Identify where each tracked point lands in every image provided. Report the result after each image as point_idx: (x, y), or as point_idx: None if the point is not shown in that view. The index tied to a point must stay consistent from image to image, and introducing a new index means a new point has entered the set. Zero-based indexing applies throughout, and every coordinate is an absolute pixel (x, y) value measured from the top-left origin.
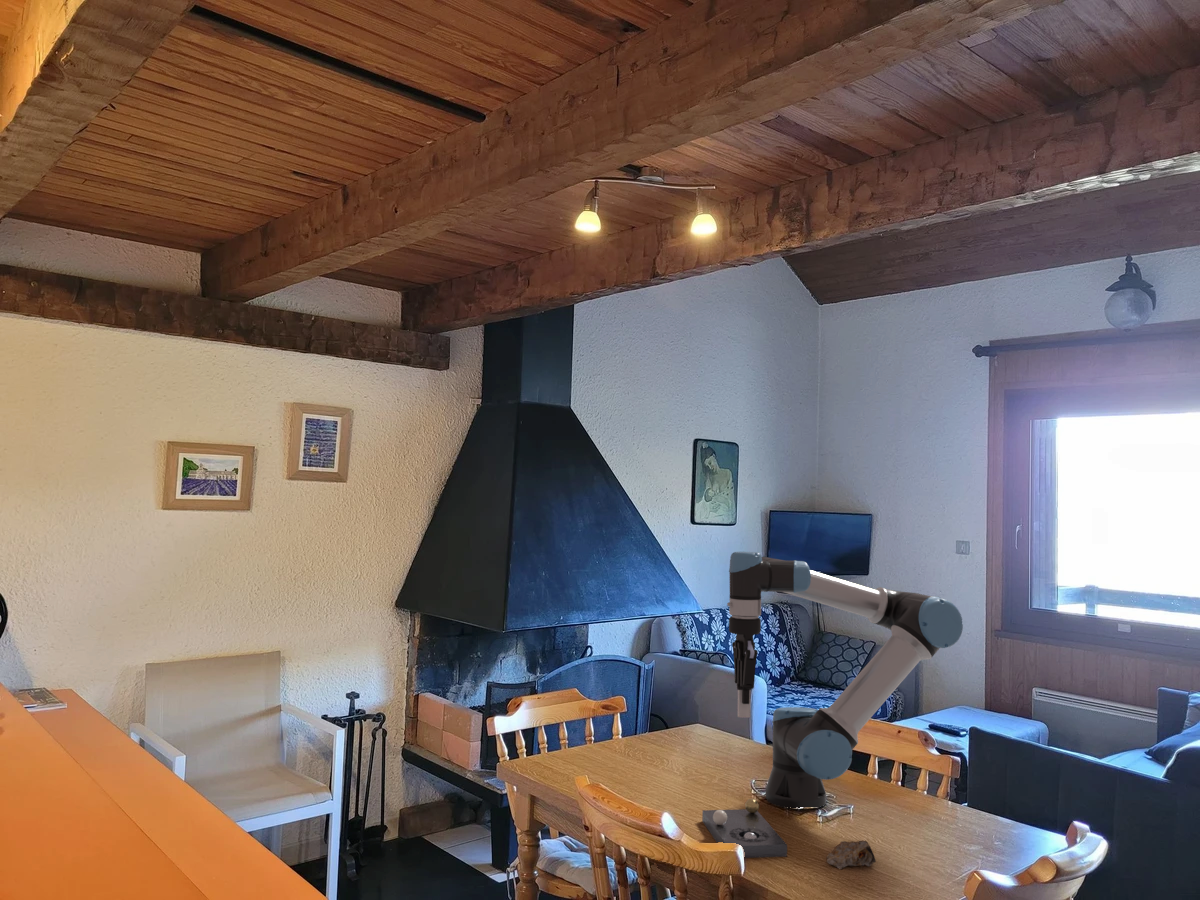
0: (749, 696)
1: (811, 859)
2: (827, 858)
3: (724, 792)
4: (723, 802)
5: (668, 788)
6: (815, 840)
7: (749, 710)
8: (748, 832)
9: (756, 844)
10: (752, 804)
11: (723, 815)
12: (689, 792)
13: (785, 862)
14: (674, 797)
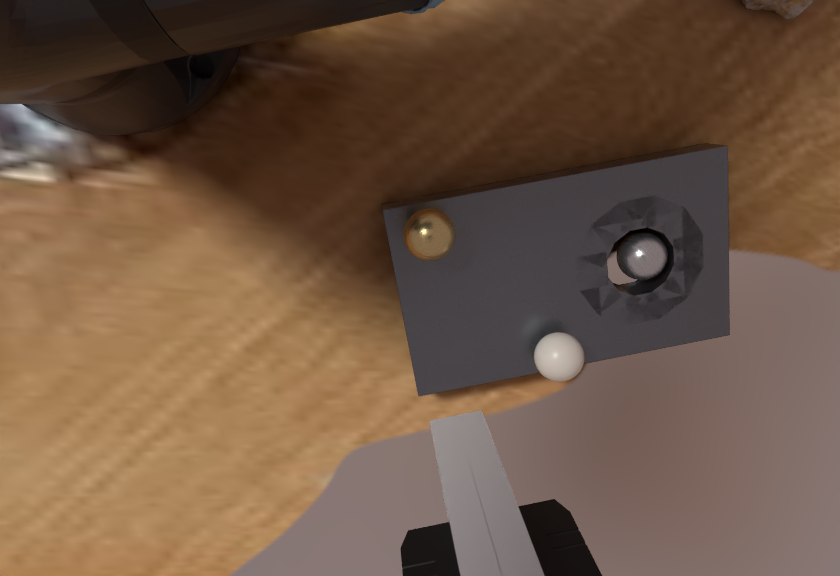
0: (528, 540)
1: (730, 63)
2: (760, 8)
3: (82, 291)
4: (207, 302)
5: (92, 482)
6: (568, 10)
7: (494, 449)
8: (649, 267)
9: (720, 247)
10: (455, 239)
11: (581, 352)
12: (119, 415)
13: (747, 155)
14: (190, 462)
